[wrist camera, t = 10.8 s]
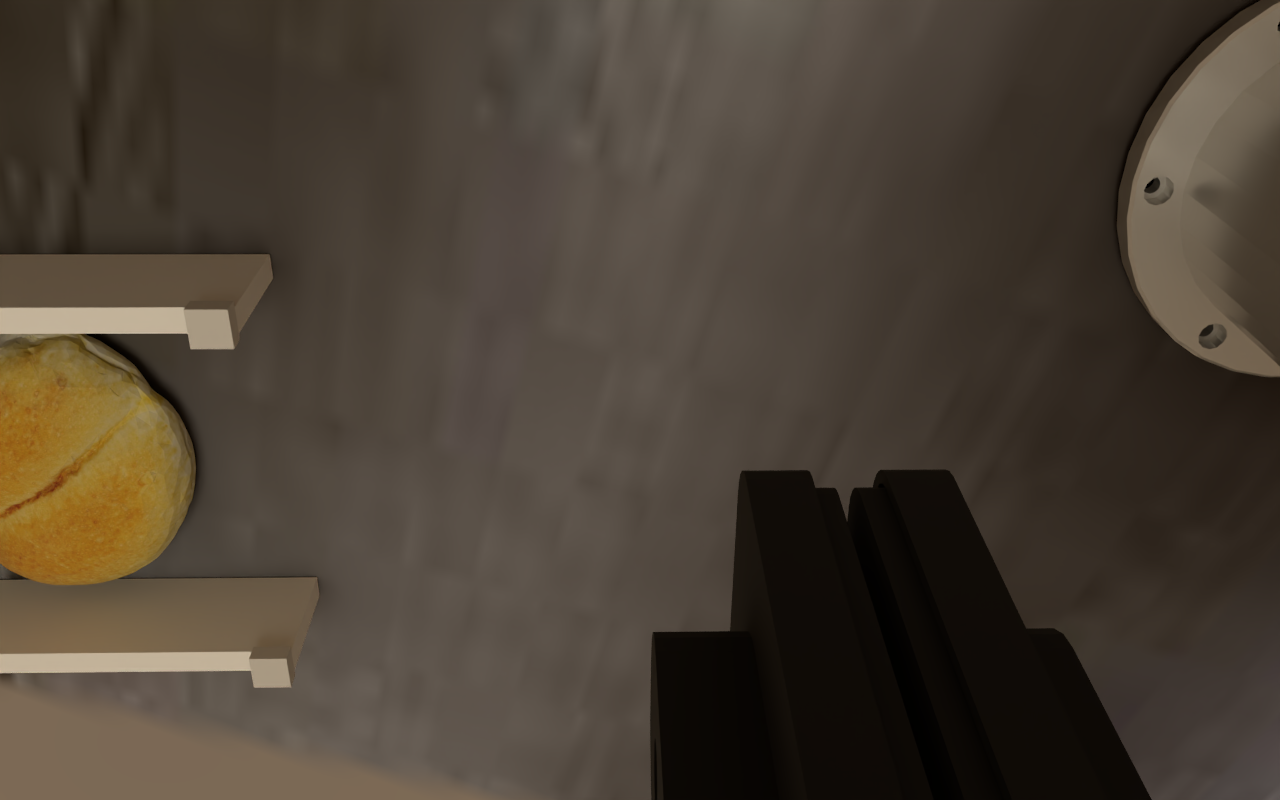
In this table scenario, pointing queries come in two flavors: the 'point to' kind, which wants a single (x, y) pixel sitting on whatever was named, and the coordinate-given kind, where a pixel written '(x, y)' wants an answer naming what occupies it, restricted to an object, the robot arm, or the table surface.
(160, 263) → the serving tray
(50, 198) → the table surface
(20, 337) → the bread roll
